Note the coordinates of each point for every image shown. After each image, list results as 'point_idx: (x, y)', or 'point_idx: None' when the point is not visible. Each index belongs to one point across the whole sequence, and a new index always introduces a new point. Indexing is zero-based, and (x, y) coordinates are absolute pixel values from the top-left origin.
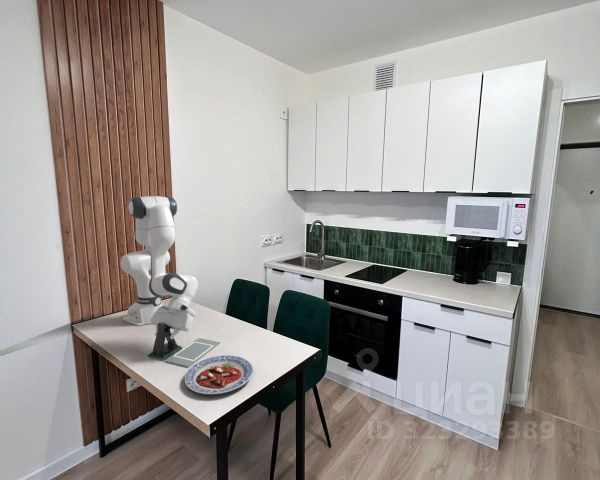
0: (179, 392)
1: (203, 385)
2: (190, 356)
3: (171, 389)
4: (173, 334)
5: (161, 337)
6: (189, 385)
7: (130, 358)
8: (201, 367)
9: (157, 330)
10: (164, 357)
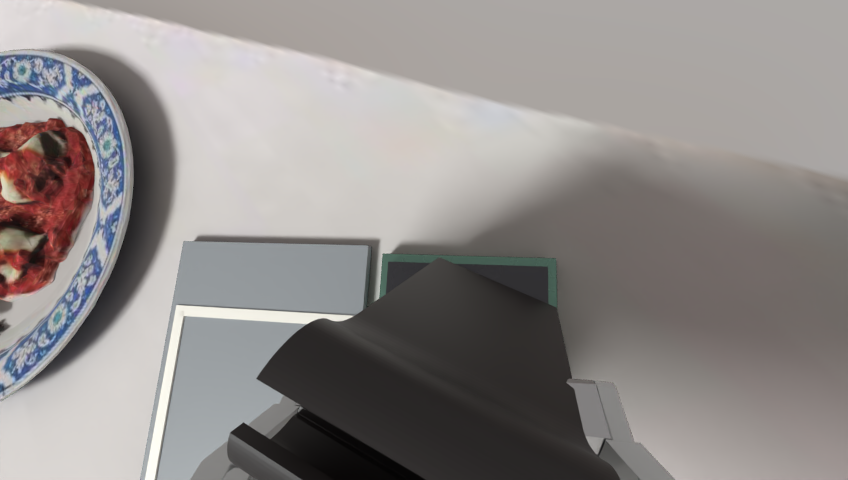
0: (134, 55)
1: (38, 123)
2: (228, 355)
3: (178, 55)
4: (277, 417)
5: (420, 315)
6: (68, 68)
7: (676, 194)
8: (89, 243)
9: (616, 456)
10: (390, 265)
